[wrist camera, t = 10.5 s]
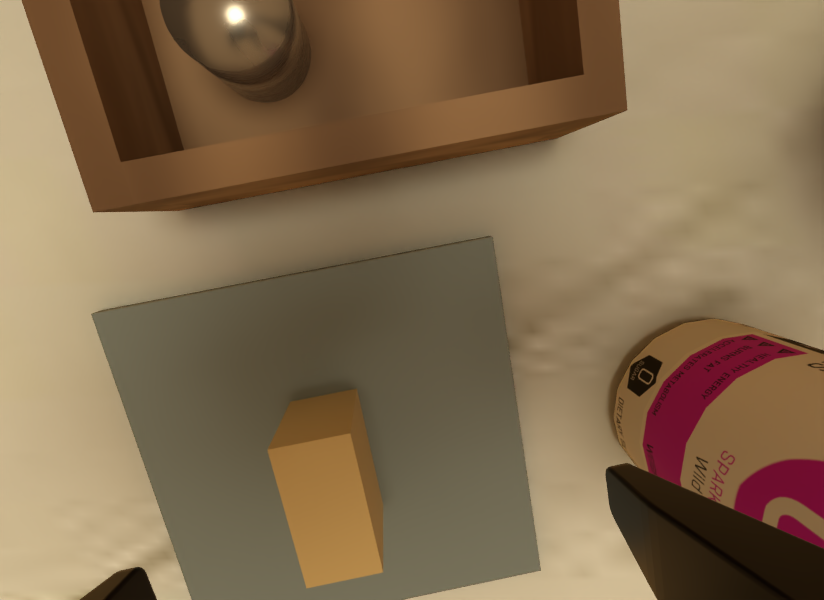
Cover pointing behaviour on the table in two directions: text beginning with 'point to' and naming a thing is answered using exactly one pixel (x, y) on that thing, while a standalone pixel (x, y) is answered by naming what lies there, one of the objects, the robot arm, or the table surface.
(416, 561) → the lid
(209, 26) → the grey metal cylinder
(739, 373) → the supplement can
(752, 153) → the table surface
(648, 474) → the robot arm
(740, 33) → the table surface
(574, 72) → the box
